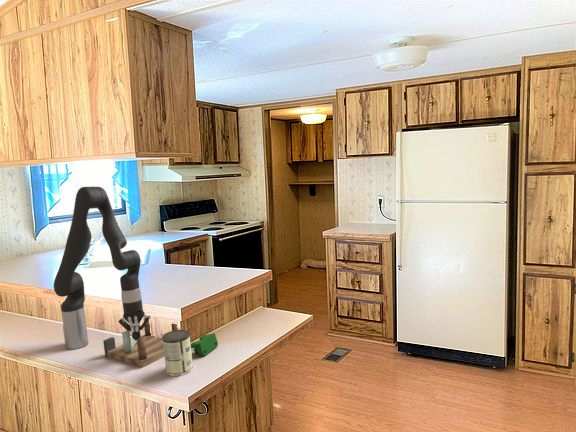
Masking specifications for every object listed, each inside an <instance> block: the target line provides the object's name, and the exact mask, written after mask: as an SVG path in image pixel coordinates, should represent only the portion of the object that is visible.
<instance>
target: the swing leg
mask: <svg viewBox="0 0 576 432" xmlns="http://www.w3.org/2000/svg"><path fill="white" fill-rule="evenodd" d="M121 335H122V345H124V352H130V351H132V348H133V346H134V345H135V344H136V342H137V340H135V339H133V335H132V333H131V331H127V330H125V331H123V332H121Z"/></svg>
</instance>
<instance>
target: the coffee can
mask: <svg viewBox="0 0 576 432" xmlns="http://www.w3.org/2000/svg"><path fill="white" fill-rule="evenodd" d="M161 336H162V340H163V348H164V357H163V358H164V364H165V374H167V375H168V376H171V377H179V375H180V376H183V375H186V373H187V374H189V373H190V372H192V371H193V369H194V364H193V362H194V361H193V356H192V355H193V353H192V348H191V343H192V342H191V332H190V331H189V330H187V329H179V330H174V331H172V330H171V331H168V332H166V333H164V334H162V335H161ZM188 372H189V373H188Z"/></svg>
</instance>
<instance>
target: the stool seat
mask: <svg viewBox="0 0 576 432" xmlns="http://www.w3.org/2000/svg"><path fill="white" fill-rule="evenodd" d="M143 319H144V317H143V318H142V320H143ZM173 323H174V322H173ZM173 323H171V331H174V330H178V328H177V324H173ZM143 329H144V334H143V335H142V336H141V337H140V338H139V339H137V342H136V344H135V345H134V346H133V348H132V351H130V352H124V345H123V344H121V345H119V346H116V340H115V337H112V336H110V337H109V338H106V339H104V340H103V342H102V343H103V350H104V356H105V358H109V359H113V360H116V361H118V362H119V361H120V362H123V363H126V364H130V365H133V366H136V367H140V368H145V367H147V366H148V365H151V364H153V363H155V362H157V361H159V360H160V359H162V358H165V357H164V348H163V340H162V338H159V337H155V336H151V333H150V324H149V320H148V322H147V323H146V325H145V326H144V328H143Z"/></svg>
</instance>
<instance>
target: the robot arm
mask: <svg viewBox="0 0 576 432" xmlns="http://www.w3.org/2000/svg"><path fill="white" fill-rule="evenodd" d="M111 204H112V203H111V201H110V198H109V196H108V194H107V191H106V190H105V189H104V188H103V187H101V186H82V187H80V188H79V189H78V190H77V193H76V195H75V199H74V206H73V214H72V219H71V224H70V228H69V231H68V232H69V233H68V235H67V238H66V243H65V246H64V247H65V248H64V251H63V255H62V258H61V261H60V264H59V267H58V270H57V273H56V275H55V278H54V281H53V289H54V290H53V292H54V294H56V296H58V297H62V298H63V297H66V298H65V300H63V302H61V304H60V310H61V319H62V320H61V321H62V330H63V331H62V333H63V338H64V345H65V349H67V350H77V349H81V348H83V347H86V346H88V344H89V335H88V330H87V329H88V327H87V321H86V313H85V304H84V303H85V301H86V299H85V298H86V297H85V285H84V284H85V282H84V279H83V277H82V274H81V273H79V272H76V270H77V268H78V266H79V265H80V264H81V262H83V260H84V258H85V257H86V256H87V254H88V252H89V250H90V245H91V242H92V233H91V230H90V227H89V224H88V221H87V220H88V214H89V211H90V209H93V210H94V209H97V210H98V211H99V213H100V214H101V217H102V226H101V232H102V235H103V238H104V240H105V242H106V244H107V246H108V247H109V252H110V254H111V255H110V256H111V260H112V264H113V267H114V268H115V269H116V270H118V271H124V270H127V272H126V273H124V274H123V275H121V276H120V277H119V278H120V279H119V283H120V289H121V291H120V292H121V301H122V302H121V303H122V309H123V310H122V311H123V314H122V317H121V318H120V319H119V320H118V323H119V325H121V326H122V327H123V328H124V329H125V331H130V333H131V334H132V335H133V339H135V340H137V339H139V338H140V337H141V335H142V334H141V330H143V329H144V326H145V325H146V323H147V322H148V320H149V319H151V315H146V314H145V312H144V307H143V300H142V292H141V289H140V282H139V277H140V267H141V256H140V253H139V252H138V251H137V250H136V249H131V250H127V251H126V250H125V251H122V249H124V248H125V247H126V246H127V244H128V241H127V239H126V237H125V235H124V234H123V232H122V230H121V228H120V226H119V225H118V221H117V219H116V216H115V214H114V209H113V206H112V205H111ZM143 318H144V319H143ZM142 320H143V323H142V324H141V321H142Z"/></svg>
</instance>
